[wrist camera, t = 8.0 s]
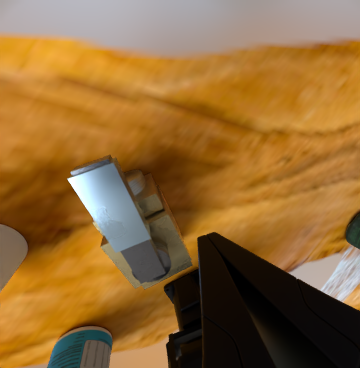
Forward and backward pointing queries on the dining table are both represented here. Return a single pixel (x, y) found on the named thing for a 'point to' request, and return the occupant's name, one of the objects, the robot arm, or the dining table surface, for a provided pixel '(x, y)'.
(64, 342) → the beverage bottle
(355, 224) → the coffee jar
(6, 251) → the mug
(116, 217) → the lever
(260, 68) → the dining table surface
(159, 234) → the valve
